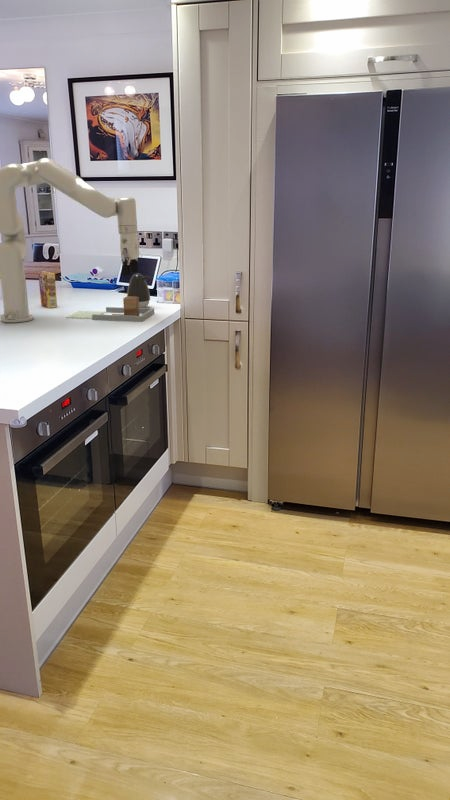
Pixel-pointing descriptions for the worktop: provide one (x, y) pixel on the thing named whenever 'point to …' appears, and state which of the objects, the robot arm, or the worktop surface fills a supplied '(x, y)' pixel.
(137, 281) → the dark grey tall ovoid
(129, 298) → the walnut block
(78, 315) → the mat
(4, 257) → the robot arm
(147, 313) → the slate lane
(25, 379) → the worktop surface
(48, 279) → the candy box
